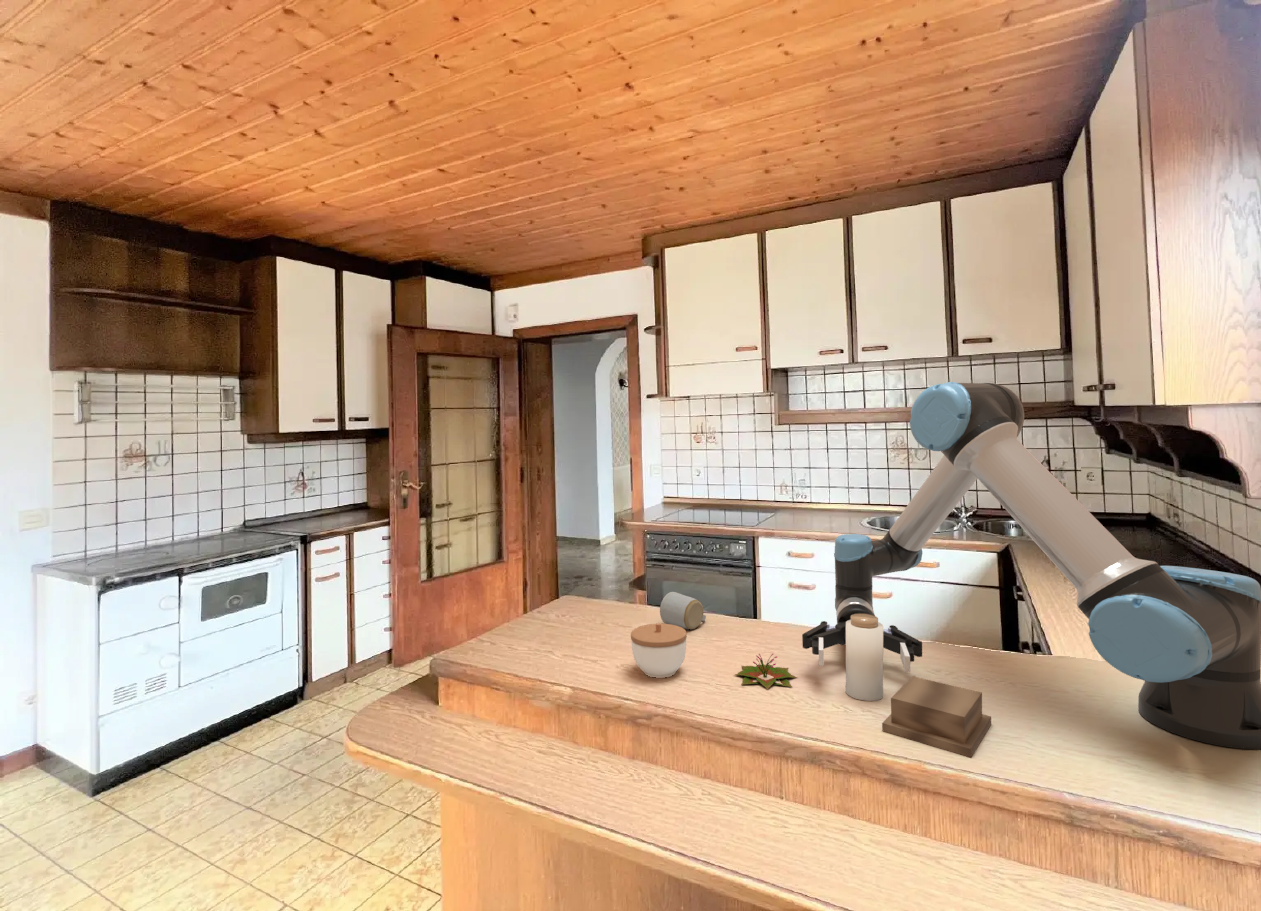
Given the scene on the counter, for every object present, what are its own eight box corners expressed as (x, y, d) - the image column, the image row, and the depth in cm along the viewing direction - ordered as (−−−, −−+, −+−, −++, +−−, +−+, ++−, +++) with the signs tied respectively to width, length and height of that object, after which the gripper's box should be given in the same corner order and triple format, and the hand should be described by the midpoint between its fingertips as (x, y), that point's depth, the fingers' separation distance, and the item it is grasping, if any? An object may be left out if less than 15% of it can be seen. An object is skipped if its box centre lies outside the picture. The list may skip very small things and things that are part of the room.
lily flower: (733, 665, 120) (732, 642, 120) (796, 668, 118) (795, 644, 118) (732, 691, 109) (731, 666, 108) (801, 695, 106) (801, 669, 106)
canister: (888, 692, 105) (888, 616, 105) (875, 704, 101) (875, 625, 100) (853, 682, 109) (853, 610, 109) (840, 694, 105) (840, 618, 104)
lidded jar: (658, 688, 110) (656, 637, 109) (620, 671, 118) (619, 624, 118) (699, 672, 117) (698, 623, 116) (661, 657, 125) (660, 611, 125)
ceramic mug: (686, 634, 138) (685, 600, 138) (659, 627, 144) (658, 594, 143) (714, 623, 146) (713, 591, 145) (687, 616, 151) (687, 586, 151)
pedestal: (991, 724, 93) (990, 691, 93) (971, 757, 84) (970, 721, 84) (908, 702, 101) (908, 672, 101) (882, 730, 92) (881, 698, 92)
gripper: (924, 644, 119) (946, 689, 99) (792, 635, 127) (787, 676, 106) (924, 606, 119) (945, 644, 99) (792, 600, 126) (786, 634, 106)
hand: (863, 661), depth 102 cm, fingers open, 13 cm apart
